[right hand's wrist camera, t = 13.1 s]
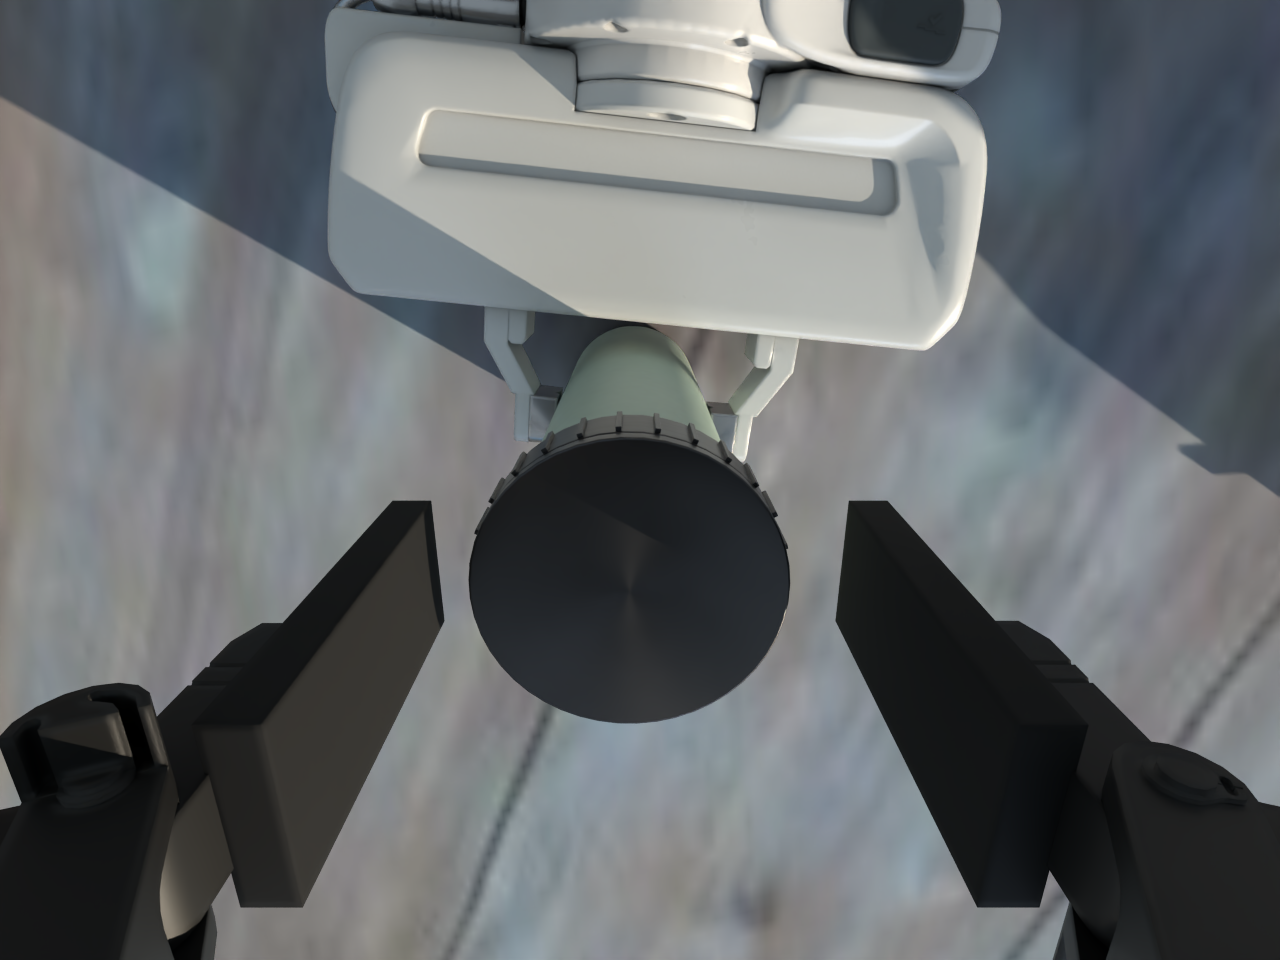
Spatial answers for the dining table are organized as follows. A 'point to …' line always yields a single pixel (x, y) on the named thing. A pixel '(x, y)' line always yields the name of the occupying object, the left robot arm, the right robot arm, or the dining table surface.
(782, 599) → the lid
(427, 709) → the dining table surface
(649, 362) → the bottle
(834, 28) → the left robot arm
